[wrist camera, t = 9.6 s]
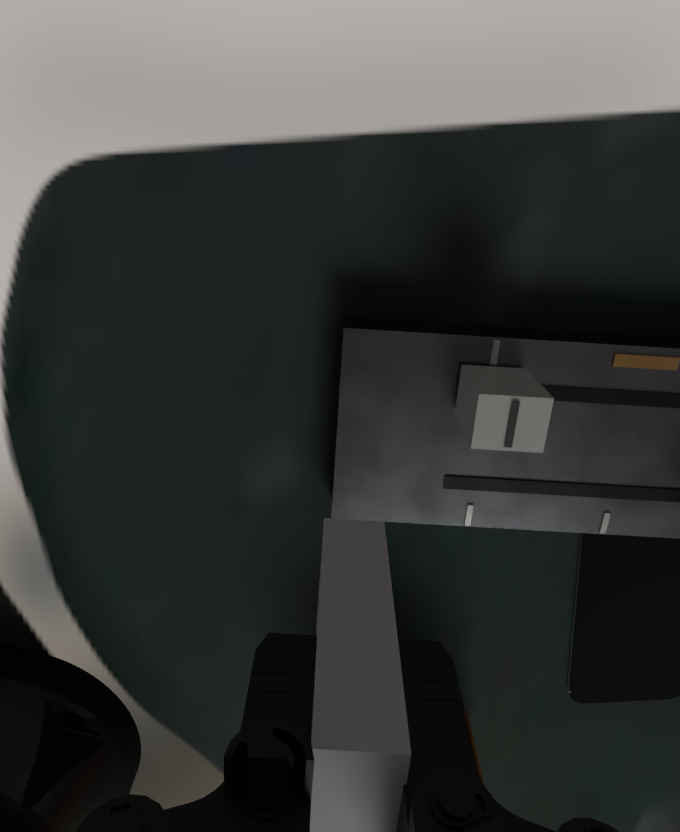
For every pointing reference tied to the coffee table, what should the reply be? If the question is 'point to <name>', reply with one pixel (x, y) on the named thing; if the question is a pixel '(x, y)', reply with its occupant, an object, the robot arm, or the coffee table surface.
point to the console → (509, 470)
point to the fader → (503, 409)
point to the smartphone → (626, 620)
